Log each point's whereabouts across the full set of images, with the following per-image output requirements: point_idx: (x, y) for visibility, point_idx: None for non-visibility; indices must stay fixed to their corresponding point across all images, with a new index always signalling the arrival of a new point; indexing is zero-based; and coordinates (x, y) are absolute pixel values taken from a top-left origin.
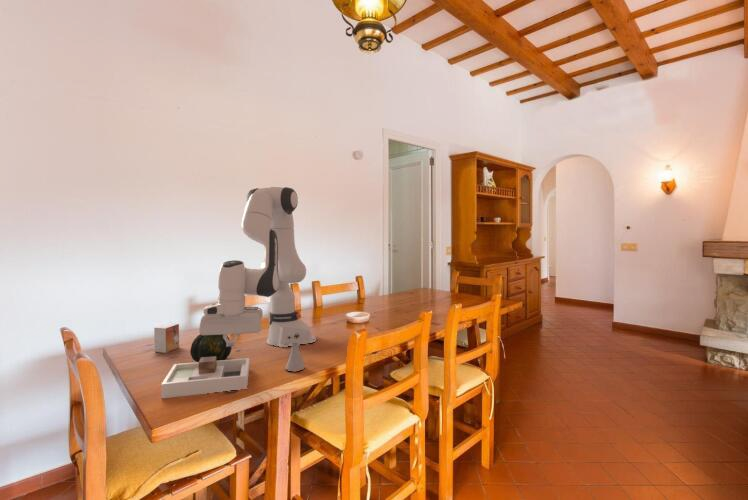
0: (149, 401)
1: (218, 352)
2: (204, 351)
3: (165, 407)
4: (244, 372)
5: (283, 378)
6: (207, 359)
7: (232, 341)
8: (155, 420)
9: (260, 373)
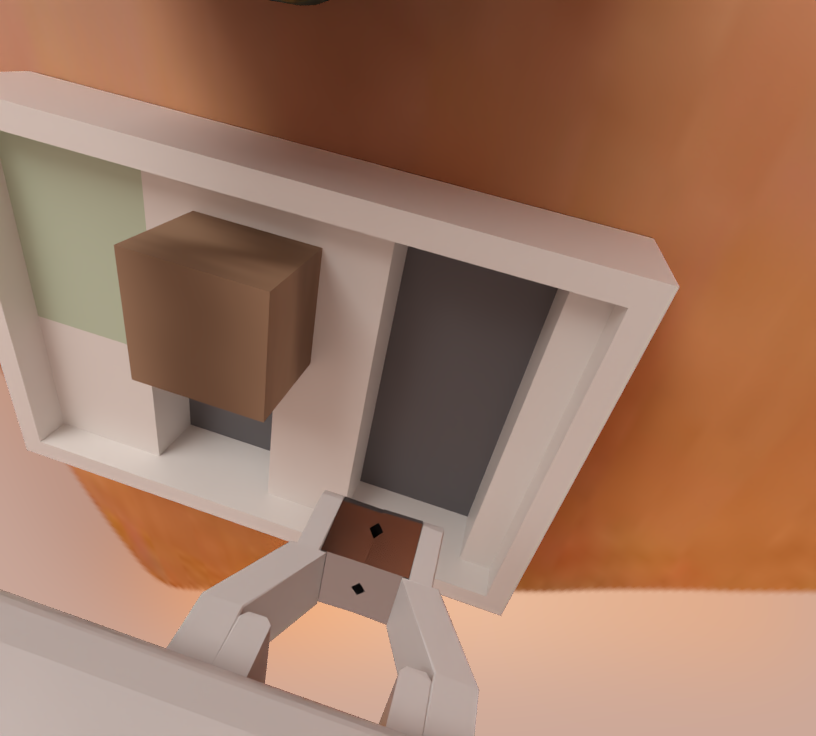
0: None
1: (299, 1)
2: None
3: None
4: (526, 479)
5: (805, 539)
6: (192, 342)
7: (376, 610)
8: (144, 552)
9: (704, 371)
